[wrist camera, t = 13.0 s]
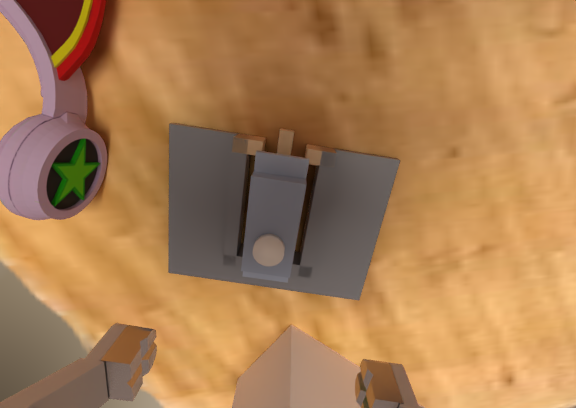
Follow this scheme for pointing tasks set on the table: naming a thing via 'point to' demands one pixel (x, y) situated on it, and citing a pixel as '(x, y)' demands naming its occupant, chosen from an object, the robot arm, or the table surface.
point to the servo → (274, 211)
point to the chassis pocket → (231, 206)
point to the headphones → (54, 113)
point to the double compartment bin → (298, 376)
